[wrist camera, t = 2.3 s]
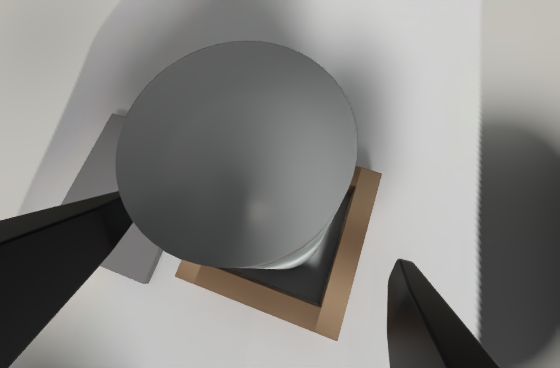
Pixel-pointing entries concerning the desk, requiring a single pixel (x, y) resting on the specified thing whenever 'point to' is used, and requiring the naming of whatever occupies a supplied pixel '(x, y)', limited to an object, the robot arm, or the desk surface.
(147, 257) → the rubber mat
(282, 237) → the pale grey cylinder
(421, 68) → the desk surface
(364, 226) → the walnut collar
